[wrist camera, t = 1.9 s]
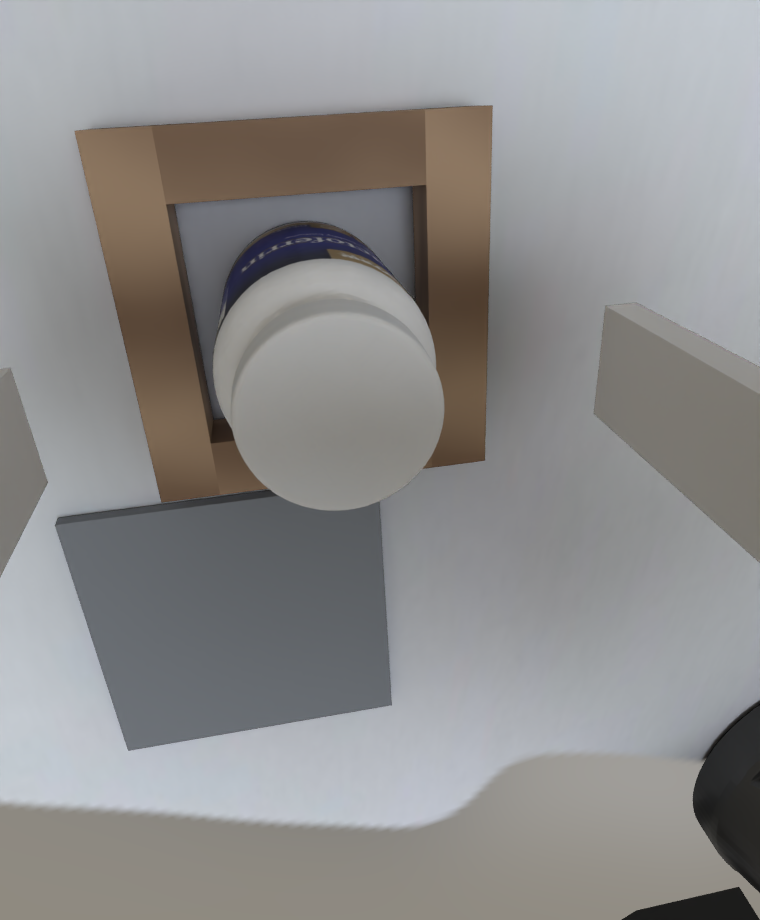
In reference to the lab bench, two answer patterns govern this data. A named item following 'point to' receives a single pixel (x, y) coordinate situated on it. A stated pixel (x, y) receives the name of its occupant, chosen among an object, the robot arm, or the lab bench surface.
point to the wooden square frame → (278, 174)
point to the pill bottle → (325, 369)
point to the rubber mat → (232, 613)
